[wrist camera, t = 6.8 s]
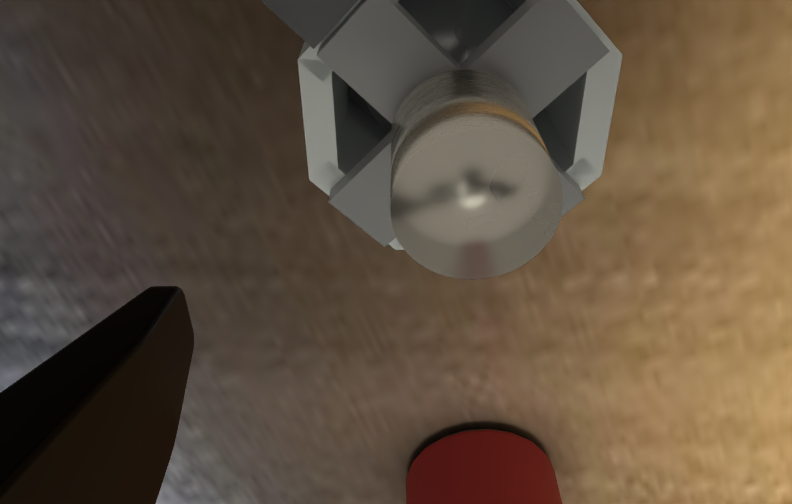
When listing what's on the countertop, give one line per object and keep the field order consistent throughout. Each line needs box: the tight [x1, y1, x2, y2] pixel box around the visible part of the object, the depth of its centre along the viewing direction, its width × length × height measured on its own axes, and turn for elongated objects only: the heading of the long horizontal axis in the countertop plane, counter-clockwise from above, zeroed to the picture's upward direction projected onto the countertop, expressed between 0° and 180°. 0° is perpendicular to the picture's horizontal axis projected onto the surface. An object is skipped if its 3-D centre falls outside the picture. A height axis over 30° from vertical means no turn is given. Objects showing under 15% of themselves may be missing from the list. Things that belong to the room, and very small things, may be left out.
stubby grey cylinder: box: [365, 0, 563, 280], centre depth 15 cm, size 5×5×8 cm
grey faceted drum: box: [260, 0, 623, 250], centre depth 17 cm, size 8×7×6 cm
